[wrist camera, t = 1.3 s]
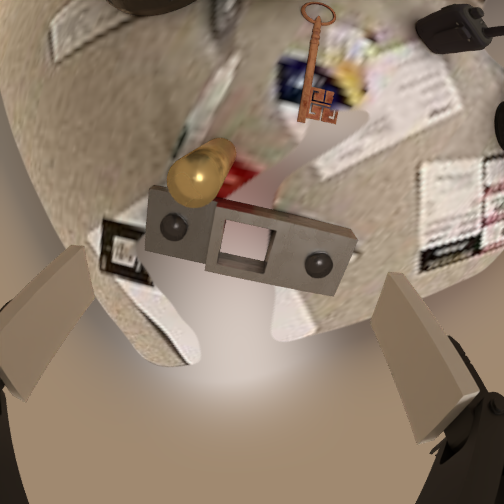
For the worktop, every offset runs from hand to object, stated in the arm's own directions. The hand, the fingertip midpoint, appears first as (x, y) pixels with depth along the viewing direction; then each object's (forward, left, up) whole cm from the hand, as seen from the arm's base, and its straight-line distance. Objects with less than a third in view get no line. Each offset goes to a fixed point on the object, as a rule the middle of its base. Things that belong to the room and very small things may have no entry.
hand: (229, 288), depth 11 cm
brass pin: (-1, -4, -22) cm, 22 cm away
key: (-14, +4, -22) cm, 27 cm away
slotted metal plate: (+8, +1, -22) cm, 23 cm away
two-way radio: (-23, +16, -22) cm, 36 cm away
